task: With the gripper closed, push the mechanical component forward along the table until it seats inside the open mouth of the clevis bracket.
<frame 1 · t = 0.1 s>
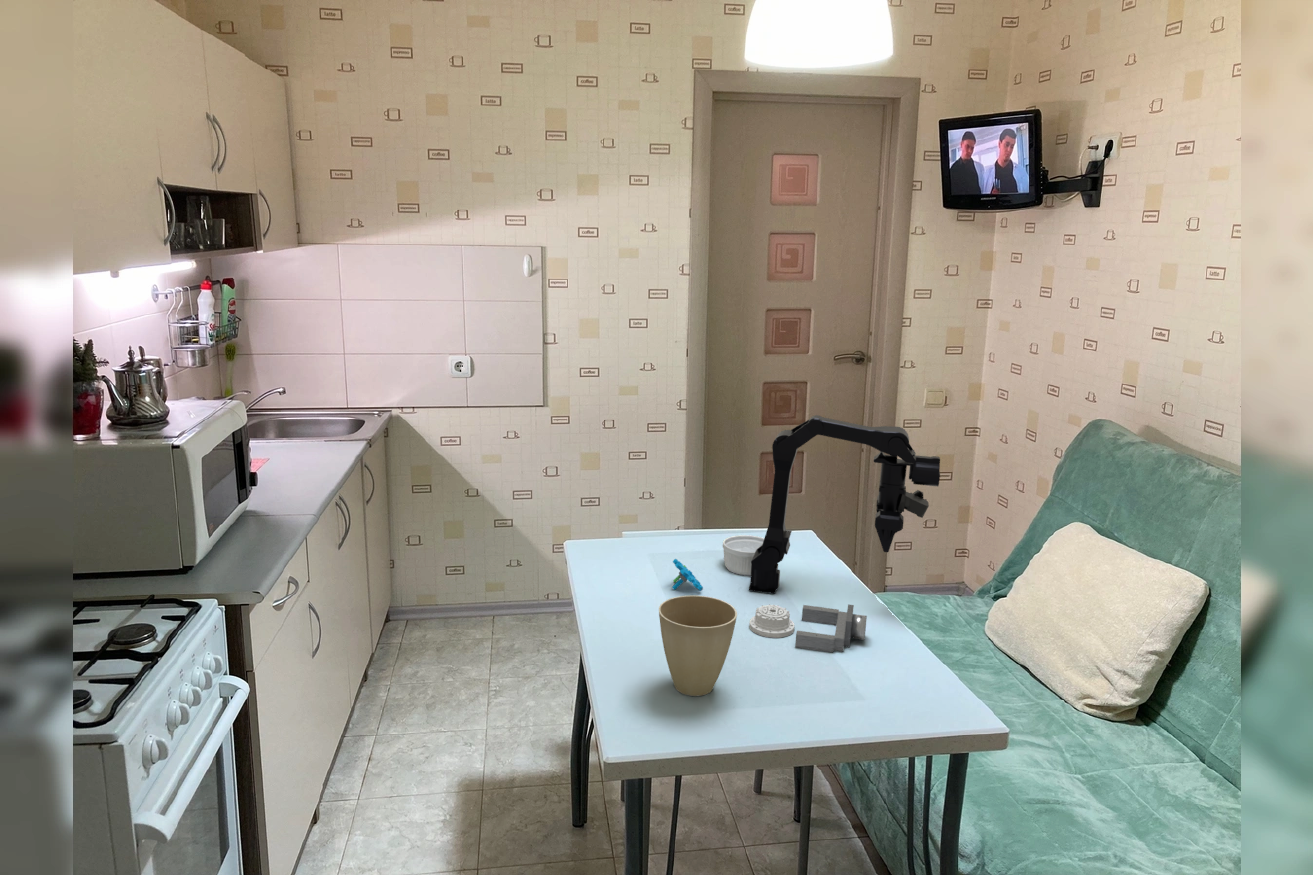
hand: (886, 545, 216), 15 cm above the table, tool pointing down, fingers open, 9 cm apart
mechanical component: (771, 629, 204), on the table
gear: (686, 589, 225), on the table
plant pot: (694, 687, 178), on the table
ramekin: (746, 569, 239), on the table
clevis bracket: (821, 634, 202), on the table
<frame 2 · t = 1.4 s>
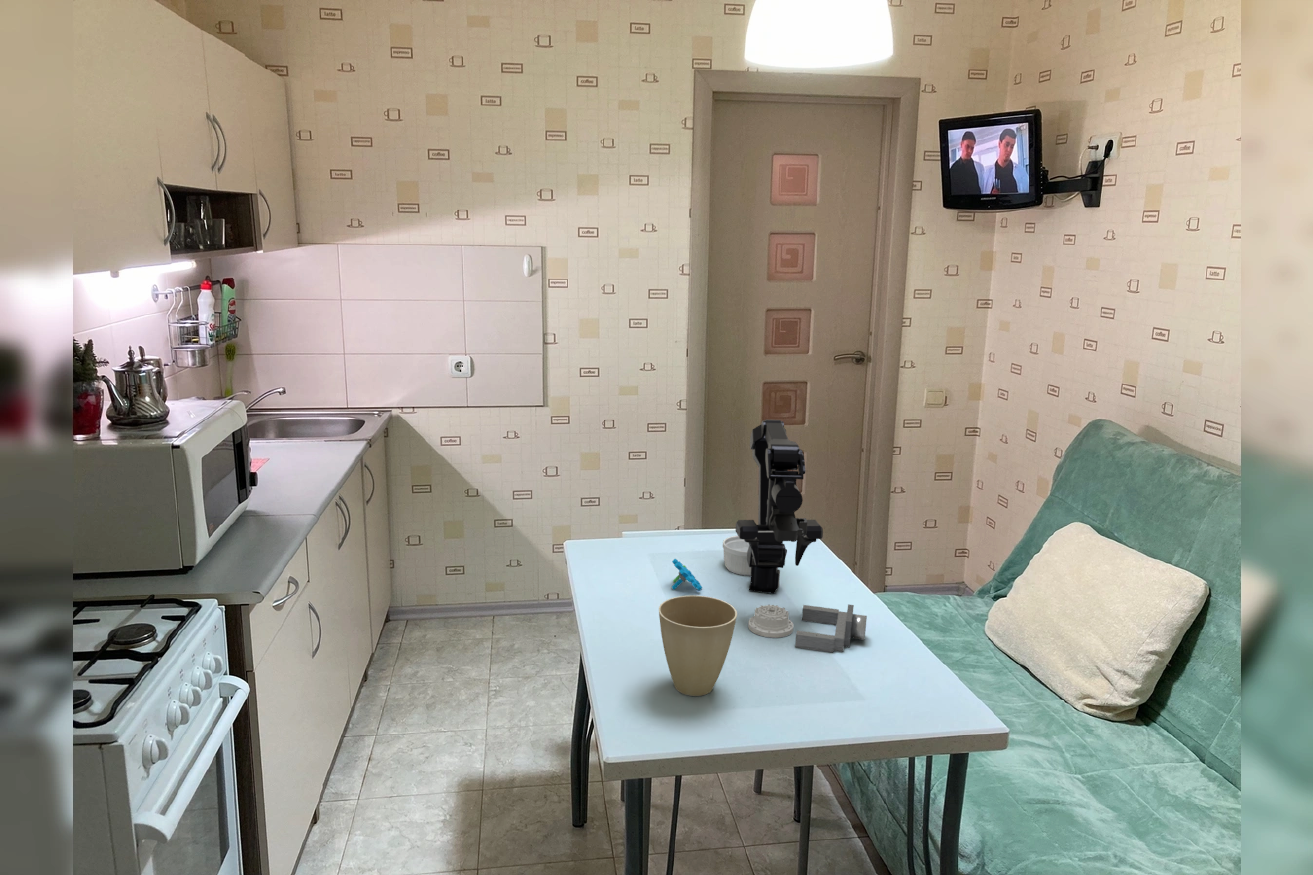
hand: (776, 565, 206), 13 cm above the table, tool pointing down, fingers open, 9 cm apart
nothing on the table moved.
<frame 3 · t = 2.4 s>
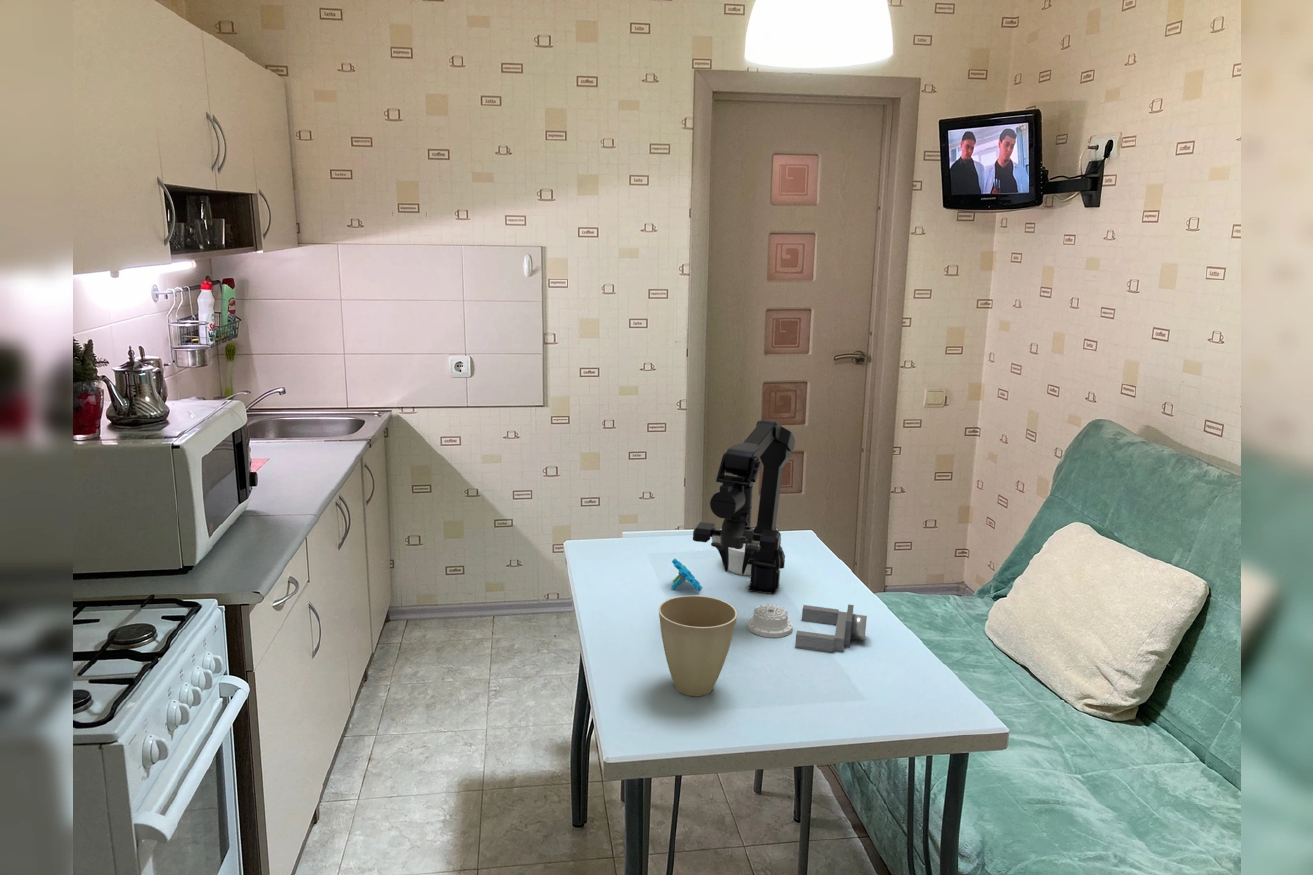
hand: (734, 572, 203), 12 cm above the table, tool pointing down, fingers open, 3 cm apart
nothing on the table moved.
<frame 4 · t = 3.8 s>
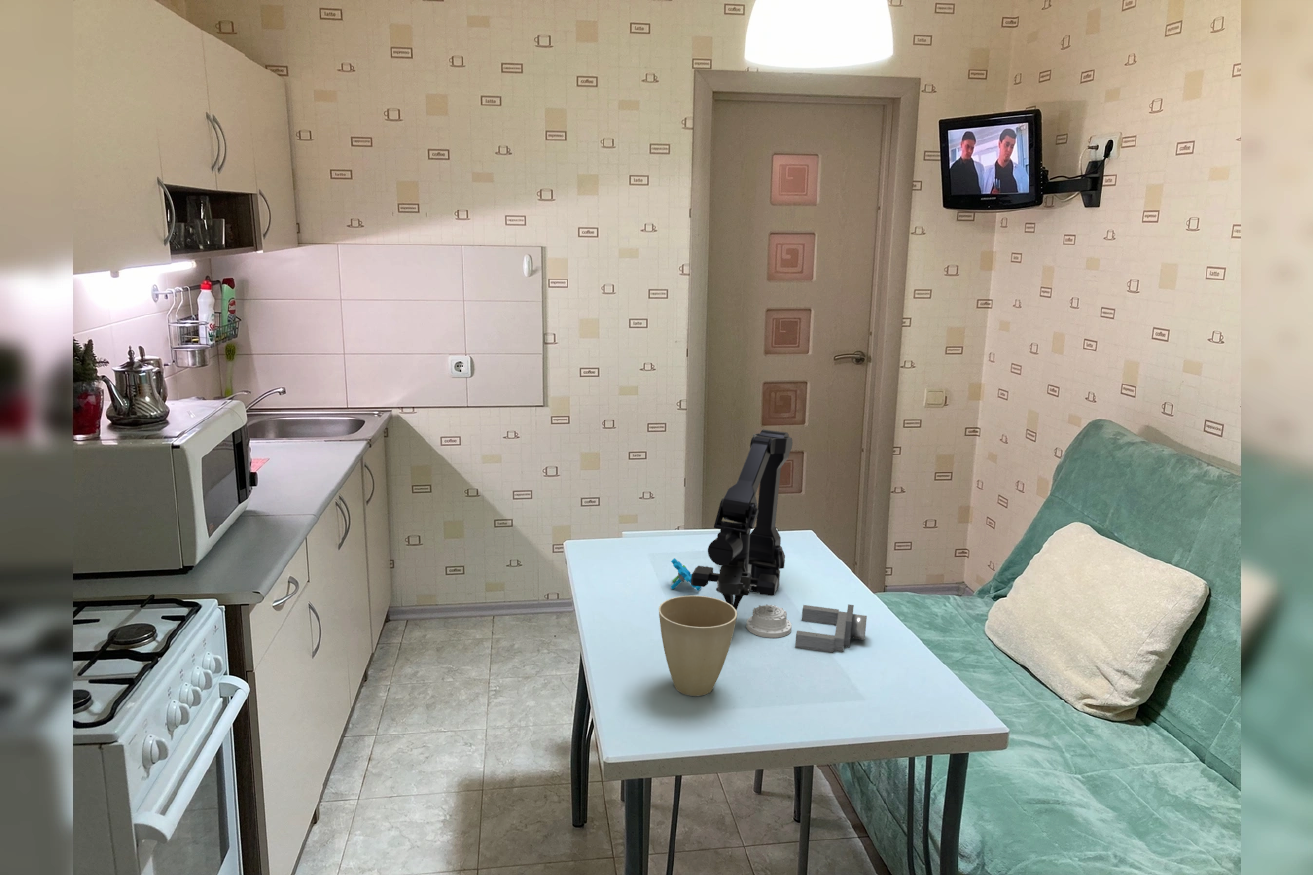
hand: (732, 615, 206), 2 cm above the table, tool pointing down, fingers closed
nothing on the table moved.
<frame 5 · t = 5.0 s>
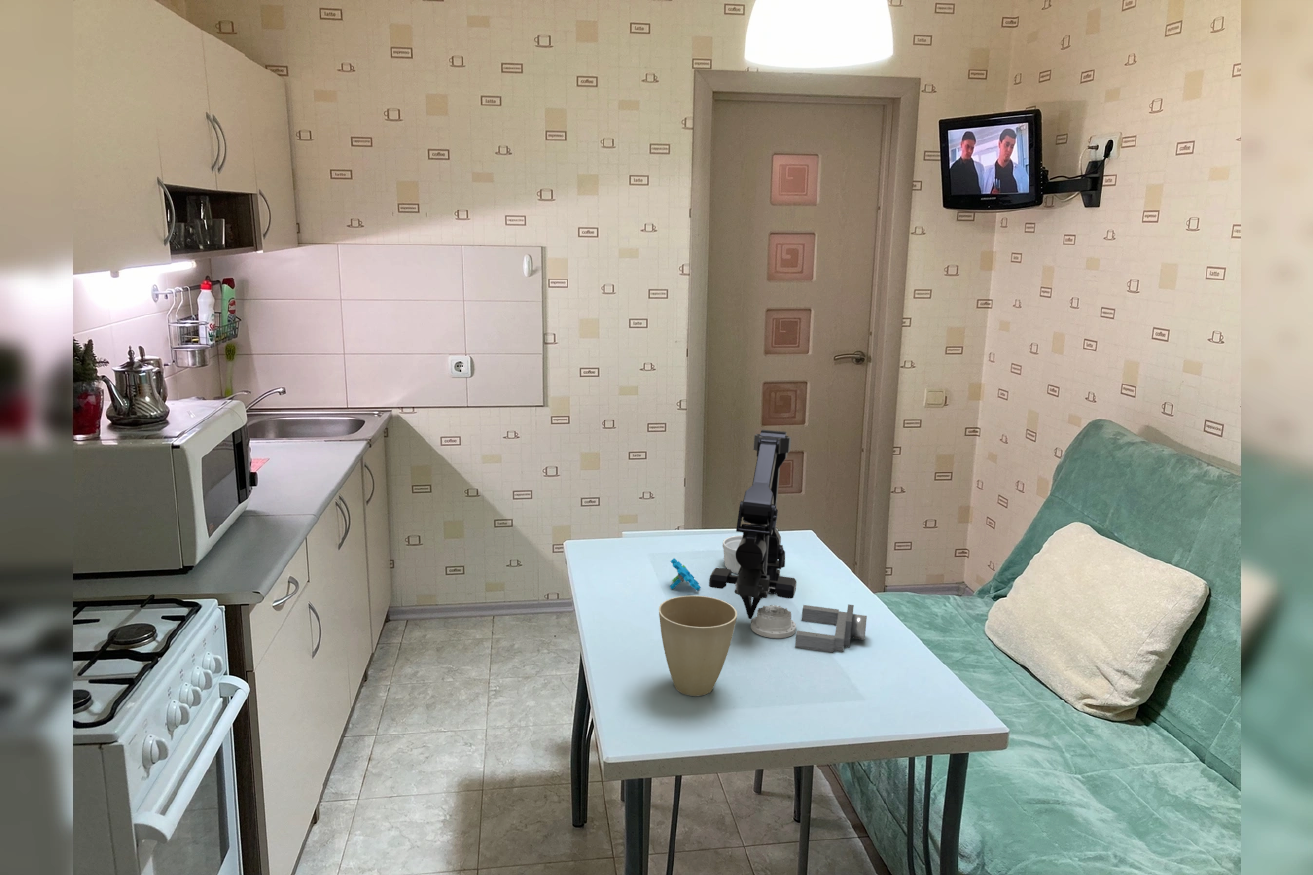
hand: (750, 618, 205), 2 cm above the table, tool pointing down, fingers closed
mechanical component: (773, 630, 204), on the table, touching gripper
everything else where it was.
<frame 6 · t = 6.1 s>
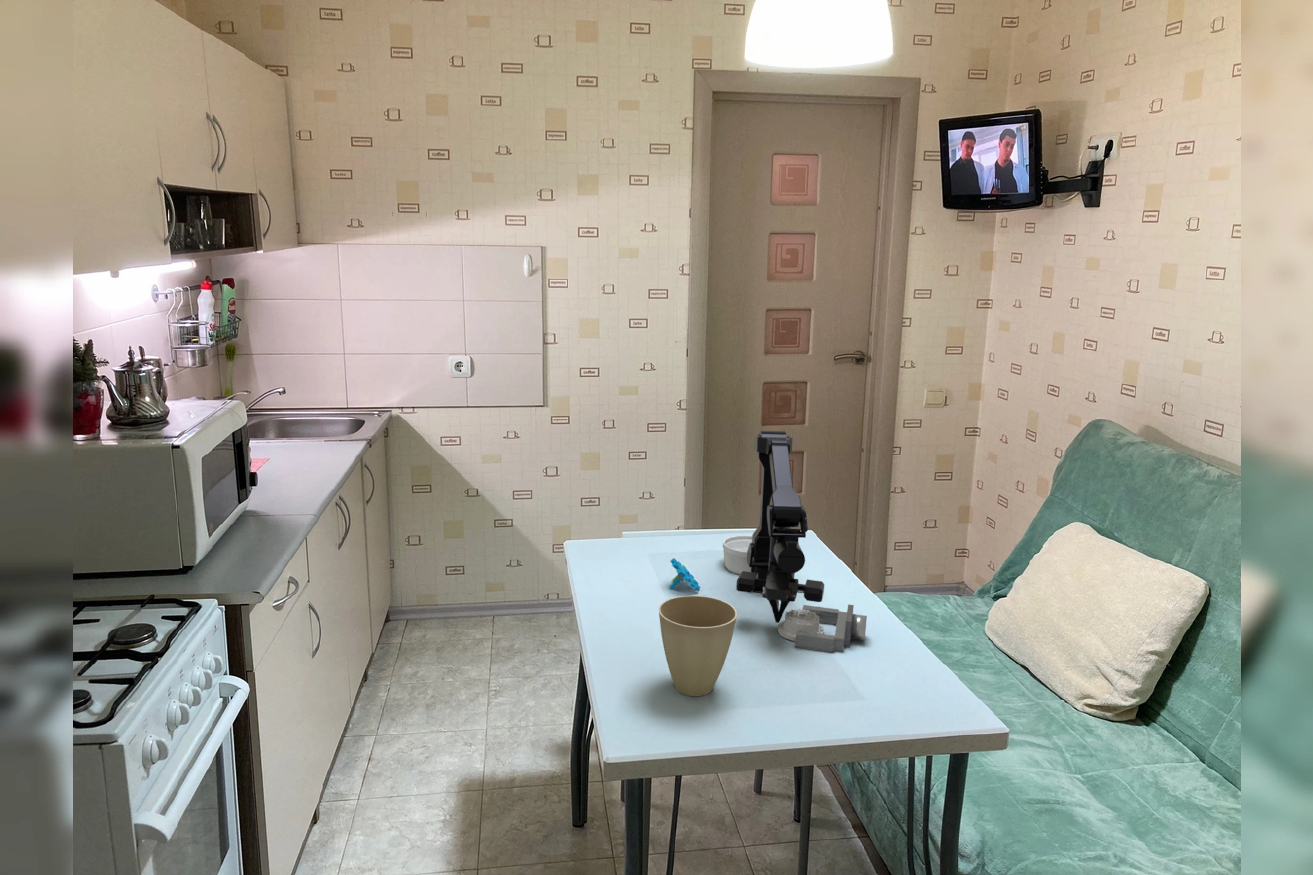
hand: (777, 622, 203), 2 cm above the table, tool pointing down, fingers closed
mechanical component: (800, 634, 202), on the table, touching gripper
everything else where it was.
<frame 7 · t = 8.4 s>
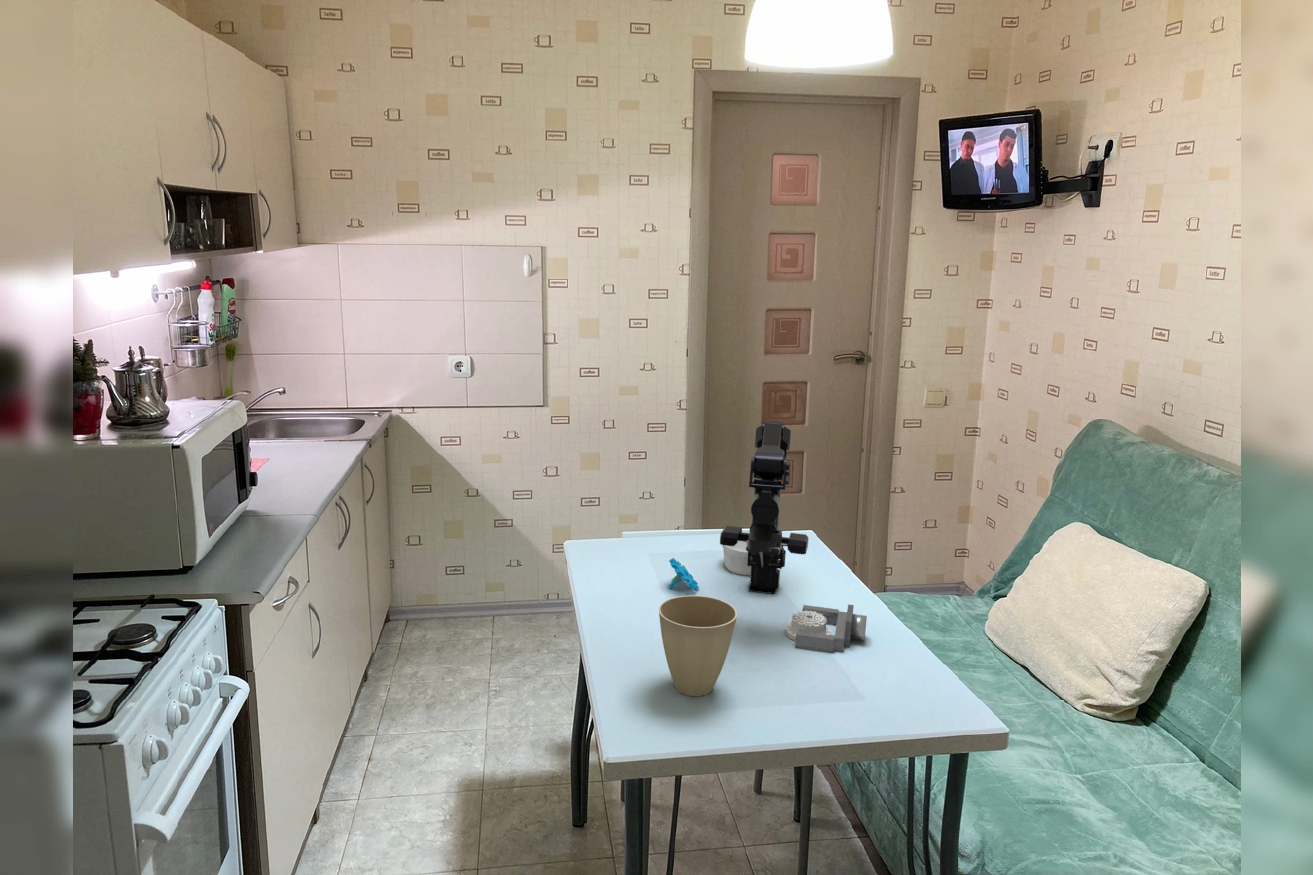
hand: (761, 576, 202), 12 cm above the table, tool pointing down, fingers closed
mechanical component: (808, 636, 202), on the table
everything else where it was.
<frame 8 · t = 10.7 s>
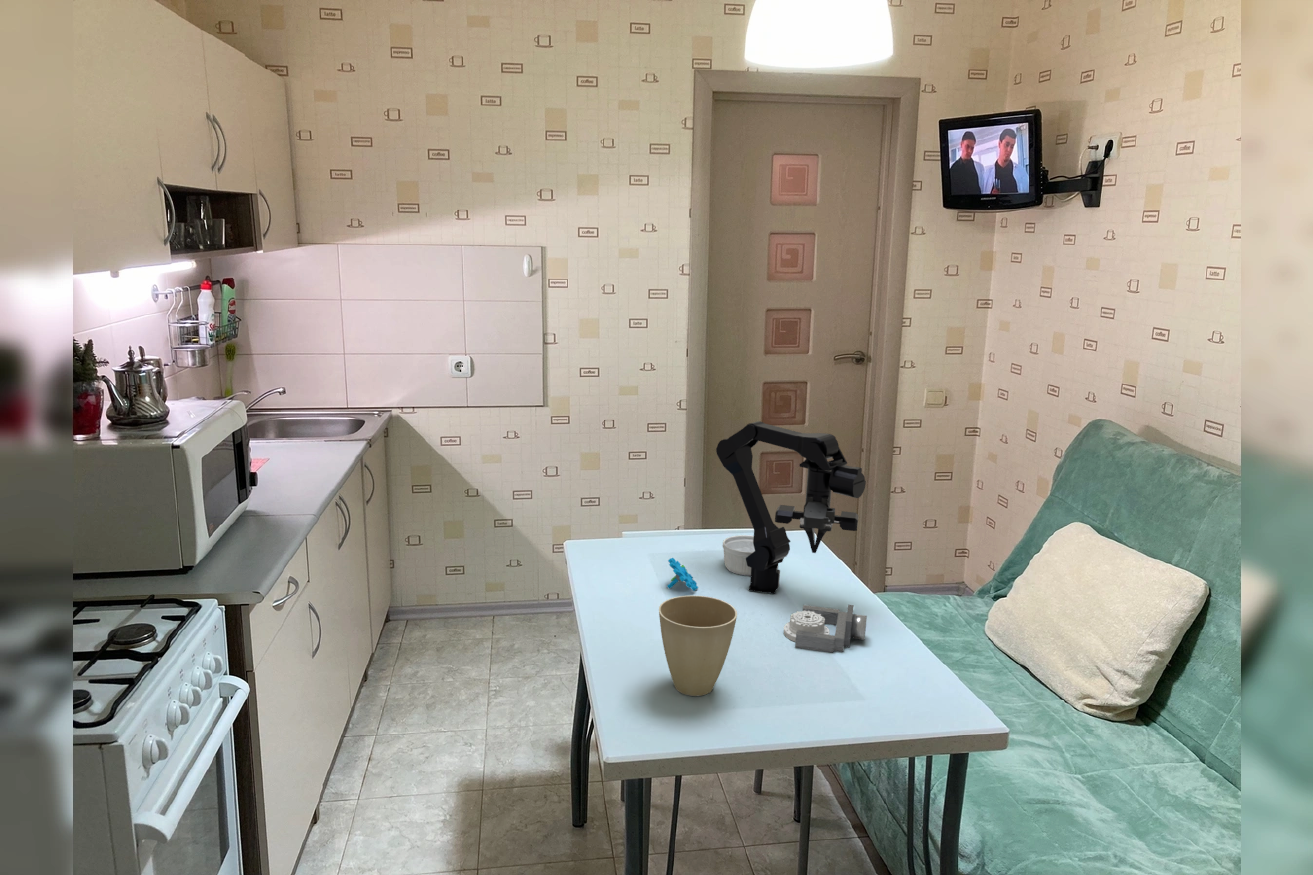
hand: (814, 552, 215), 13 cm above the table, tool pointing down, fingers closed
at the end: mechanical component 1.0 cm from the target spot on the clevis bracket, point -0.5 cm above the clevis bracket's base; mechanical component tilted 2° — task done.
